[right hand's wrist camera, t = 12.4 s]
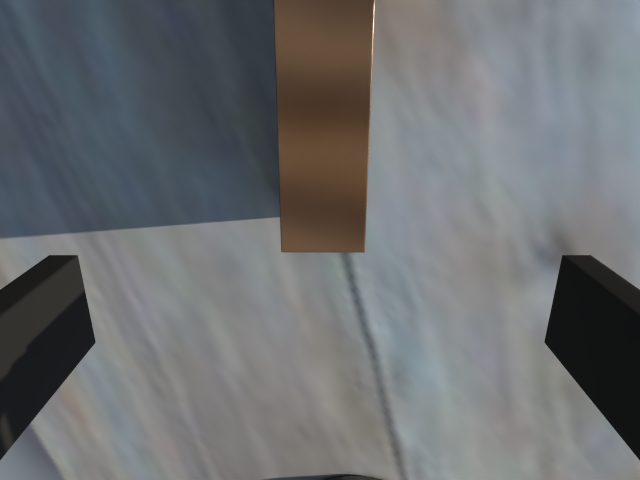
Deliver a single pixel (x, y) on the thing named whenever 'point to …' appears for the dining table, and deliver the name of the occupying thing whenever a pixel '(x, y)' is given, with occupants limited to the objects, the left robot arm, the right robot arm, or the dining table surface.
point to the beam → (323, 121)
